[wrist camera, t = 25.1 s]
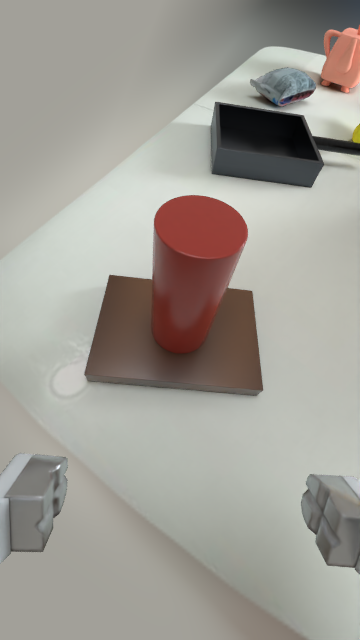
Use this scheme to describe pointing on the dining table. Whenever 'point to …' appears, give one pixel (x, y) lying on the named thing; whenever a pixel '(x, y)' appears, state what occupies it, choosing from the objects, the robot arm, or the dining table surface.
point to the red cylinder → (192, 268)
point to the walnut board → (167, 367)
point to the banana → (356, 134)
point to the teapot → (342, 59)
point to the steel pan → (268, 145)
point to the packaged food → (284, 86)
